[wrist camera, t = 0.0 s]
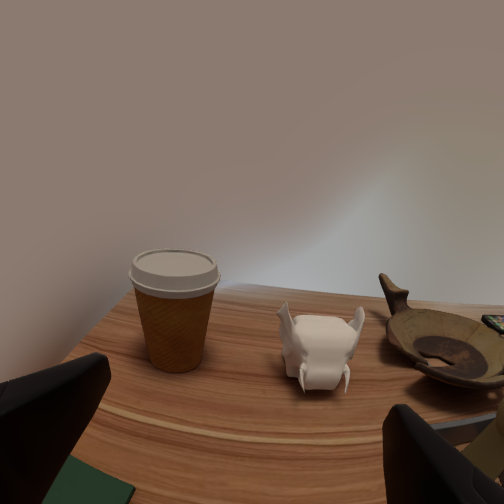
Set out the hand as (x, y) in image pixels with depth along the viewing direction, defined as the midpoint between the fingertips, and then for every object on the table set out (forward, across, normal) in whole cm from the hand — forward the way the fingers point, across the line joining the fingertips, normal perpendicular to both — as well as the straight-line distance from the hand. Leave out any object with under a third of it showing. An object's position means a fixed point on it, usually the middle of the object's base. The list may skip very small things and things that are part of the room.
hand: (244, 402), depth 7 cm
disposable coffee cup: (+20, +10, +15) cm, 27 cm away
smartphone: (+38, -55, +15) cm, 68 cm away
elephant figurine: (+21, -6, +15) cm, 26 cm away
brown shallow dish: (+27, -27, +15) cm, 41 cm away
